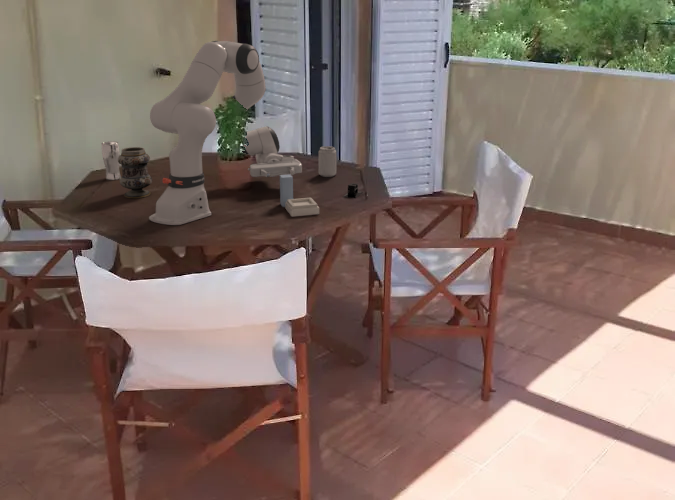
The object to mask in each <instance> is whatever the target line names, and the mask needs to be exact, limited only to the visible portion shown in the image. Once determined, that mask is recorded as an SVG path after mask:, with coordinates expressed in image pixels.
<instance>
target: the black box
mask: <svg viewBox="0 0 675 500" xmlns="http://www.w3.org/2000/svg"><path fill="white" fill-rule="evenodd" d="M362 193H363V191H359V183H352V182H350V183H349V184H348V185H347V193H345V194H344V195H343V196H342V198H347V199H348V198H349V199H357V198H358V197H359V196H360V195H362Z"/></svg>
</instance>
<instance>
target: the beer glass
mask: <svg viewBox="0 0 675 500" xmlns="http://www.w3.org/2000/svg"><path fill="white" fill-rule="evenodd" d="M101 154H102V160H103V163H104V168H105V179H106V180H107V181H118V180H120V178H121V177H122V176H121V175H122V174H121V172H120V164H119V162H118V157H119V156H120V155H121V153H120V146H119V141H115V140H113V141H111V140H110V141H103V142H101Z"/></svg>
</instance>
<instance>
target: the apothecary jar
mask: <svg viewBox="0 0 675 500" xmlns="http://www.w3.org/2000/svg"><path fill="white" fill-rule="evenodd" d="M150 159H151V158H150V156H149V154H148V153H146V149H145V148H144V147H141V146H131V147H130V146H129V147H124V148H122V149H121V153H120V156H119V157H118V162H119V165H121V172H122V173H121V175H122V176H121V178H120V179H119V184H120V185H121V186H122V187H123V188H125V189H129V190H128V191H127V192H125V193H124V197H125V198H127V199H140V198H141V199H142V198H146V197H149V196H150V195H151V193H152V192H151V191H149V190H146V189H144V188H147V187H149V186H150V185H151V184H152V182H153V178H152V176H151V175H150V174H149V171H148V170H149V169H148V163H149V162H150V161H151V160H150Z"/></svg>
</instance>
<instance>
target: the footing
mask: <svg viewBox="0 0 675 500" xmlns="http://www.w3.org/2000/svg"><path fill="white" fill-rule="evenodd" d="M284 208H285V209H286V211H287V213H289V215H290V217H302V216H312V215H320V207H319V206H318V203H317V202H316V201H315V200H314V199H313V198H312V197H303V198H301V197H300V198H293V199H287V202H285V207H284Z"/></svg>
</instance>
